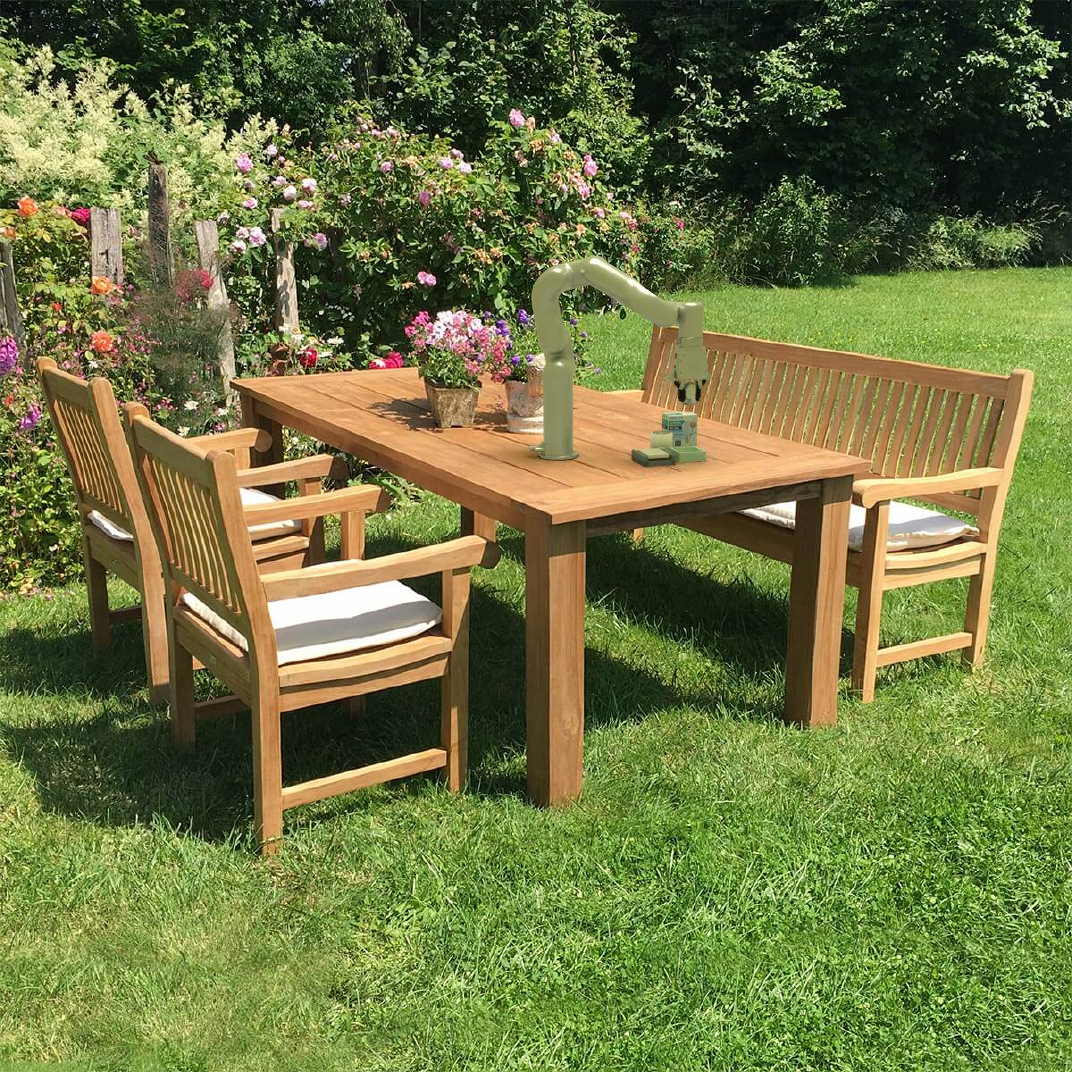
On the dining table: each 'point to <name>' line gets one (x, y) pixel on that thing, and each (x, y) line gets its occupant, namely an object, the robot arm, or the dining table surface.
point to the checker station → (653, 459)
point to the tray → (688, 454)
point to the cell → (690, 393)
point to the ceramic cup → (661, 439)
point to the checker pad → (653, 453)
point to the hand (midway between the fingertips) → (689, 400)
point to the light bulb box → (681, 428)
